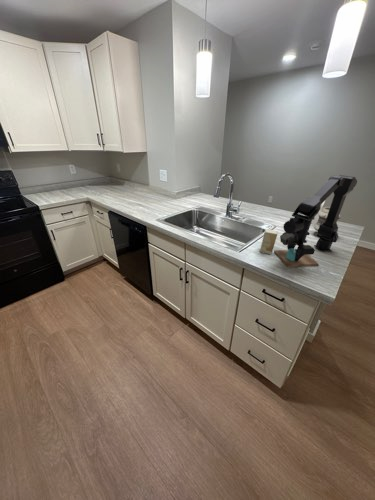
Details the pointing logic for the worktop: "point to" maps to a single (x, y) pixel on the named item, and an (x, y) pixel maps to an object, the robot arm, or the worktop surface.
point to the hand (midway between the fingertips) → (292, 257)
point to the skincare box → (268, 241)
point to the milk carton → (317, 215)
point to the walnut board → (303, 261)
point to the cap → (291, 254)
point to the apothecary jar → (322, 219)
